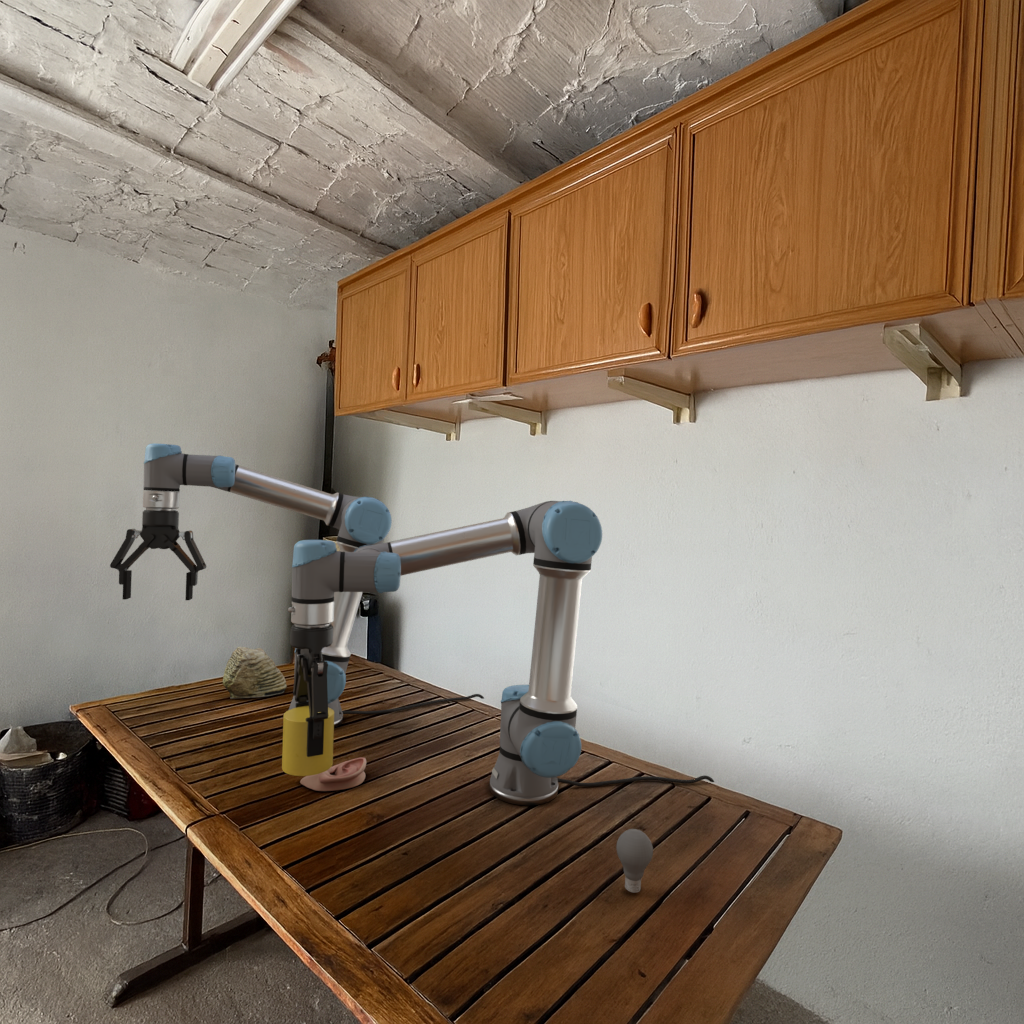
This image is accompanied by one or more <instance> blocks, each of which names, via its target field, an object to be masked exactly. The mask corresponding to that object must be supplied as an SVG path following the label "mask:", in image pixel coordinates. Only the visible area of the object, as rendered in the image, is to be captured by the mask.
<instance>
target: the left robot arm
mask: <svg viewBox="0 0 1024 1024" xmlns="http://www.w3.org/2000/svg"><path fill="white" fill-rule="evenodd" d="M144 453H145V454H144V461H143V490H142V492H143V493H142V494H143V495H142V496H143V497H142V507H143V508H145V509H144V510H143V511H142V517H141V518H142V520H141V530H140V529H136V528H129V529H127V530H126V532H125V538H124V540H123V542H122V544H121V545H120V547H119V548H118V551H117V553H116V554H115V556H114V557H113V559H112V561H111V563H110V564H109V567H110V568H111V569H115V570H117V571H118V584H119V585H120V586H122V600H129V599H131V598H132V573H133V571H132V569H129V568H131V566H132V565H133V564H135V562H136V561H137V560H138V559H140V557H141V556H142V555H143V554H145V552H146V551H147V550H148V549H151V550H156V549H159V550H168V549H169V550H170V551H171V552H173V554H175V555H176V557H177V558H178V559H179V560H180V561H181V563H182V564H183V565H184V566H185V567H186V568H187V570H188V571H187V572H186V575H185V601H190V600H193V596H194V595H193V594H194V593H193V592H194V587H196V586H197V584H198V577H199V576H198V575H199V572H200V571H203V570H205V569H206V568H207V564H206V562H205V560H204V558H203V556H202V553H201V552H200V550H199V548H198V545H197V544H196V542H195V540H194V532H193V530H186V531H180V529H179V525H180V512H179V511H178V510H177V509H179V508H180V491H181V489H180V488H181V486H192V487H193V486H194V487H210V488H214V489H216V490H217V489H218V490H221V491H224V492H226V493H227V492H228V493H230V494H231V493H232V494H235V495H238V496H241V497H244V498H248V499H251V500H254V501H258V502H260V503H264V504H268V505H271V506H275V507H278V508H281V509H285V510H288V511H290V512H294V513H298V514H301V515H303V516H304V515H305V516H308V517H311V518H314V519H318V520H321V521H323V522H324V523H325V525H326V526H328V527H332V528H334V529H337V530H339V531H338V534H337V538H336V541H335V543H336V545H337V546H338V548H339V551H341V552H354V551H355V550H356V549H358V548H359V547H361V546H364V545H377V544H381V543H384V541H385V538H387V536H388V534H389V533H390V531H391V528H392V524H393V523H392V521H393V520H392V514H391V512H390V509H389V508H388V506H387V505H386V504H385V503H384V502H383V501H381V500H380V499H378V498H376V497H371V496H354V495H349V494H344V493H341V492H335V493H329V492H326V491H323V490H319V489H317V488H313V487H310V486H306V485H303V484H301V483H297V482H294V481H290V480H287V479H285V478H281V477H278V476H274V475H271V474H269V473H265V472H262V471H259V470H255V469H252V468H249V467H246V466H243V465H239V464H236V460H235V459H234V457H232V456H224V455H210V454H208V455H207V454H188V453H183V451H182V447H181V446H180V445H177V444H170V443H169V444H168V443H149V444H147V445H146V447H145V451H144ZM139 537H140V538H141V539H142V540H143V541H142V542H141V543H140V544H139V545H138V547H137V548H136V549H135V550H134V551H133V552H132V553H131V554H130V555H129V556H128V557H127V558H126V556H127V554H128V552H129V551H130V549H131V547H132V546H133V545H134V543H135V540H136V539H138V538H139ZM179 538H181V539H182V541H184V542H185V545H186V546H187V549H188V551H189V553H190V555H191V557H192V559H193V560H192V559H191V558H190V556H189V555H188V554H187V553H186V551H184V550H183V549H182V547H181V544H179V543H178V540H179ZM125 558H126V559H125ZM124 559H125V560H124ZM363 593H364V592H335V593H334V621H333V622H332V623H330V624H332V626H333V643H332V644H331V645H330V646H328V647H324V648H323V649H322V656H324V659H325V662H326V661H327V663H328V669H327V691H328V707H329V708H331V709H333V710H334V729H335V728H337V727H339V726H340V725H342V723H343V722H344V715H377V714H387V713H394V712H401V711H405V710H409V709H413V708H418V707H423V706H427V705H433V704H439V703H446V702H454V701H465V700H470V699H473V698H480V699H482V700H484V699H485V697H484V696H483V695H482V694H481V693H473V694H471V695H468V696H460V697H450V698H449V697H448V698H442V699H433V700H430V701H424V702H420V703H414V704H411V705H406V706H402V707H396V708H388V709H381V710H380V709H379V710H343V709H342V706H341V702H340V699H339V698H340V696H341V695H342V694H343V692H344V690H345V687H346V684H347V676H346V672H347V669H348V667H349V666H348V665H349V662H350V658H351V655H352V654H351V651H350V649H349V647H348V645H349V642H350V641H349V640H350V639H351V638H350V637H351V634H352V631H353V627H354V623H355V620H356V617H357V613H358V609H359V607H360V602H361V599H362V595H363ZM294 649H295V650H294V666H295V665H296V648H294ZM293 673H294V674H293V675H294V676H293V678H294V677H295V671H294V672H293ZM292 696H293V697H292V699H291V702H290V704H289V708H288V710H291V709H293V708H296V703H298V702H296V701H295V696H294V695H292ZM307 702H309V701H308V700H307Z"/></svg>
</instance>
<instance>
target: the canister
mask: <svg viewBox="0 0 1024 1024" xmlns="http://www.w3.org/2000/svg"><path fill="white" fill-rule="evenodd" d="M318 713H321V712H318ZM282 717H283V720H282V721H283V722H282V723H283V725H282V749H281V750H282V751H281V753H282V754H281V770H282V771H283V772H284V773H285V774H287V775H290V776H295V777H305V776H310V775H316V774H319V773H322V772H325V771H327V770H328V769H330V768H331V767H332V766H334V765H333V764H334V738H335V734H334V733H335V728H334V710H333V709H331V708H329V707H328V719H324V742H323V755H317V756H311V757H307V729H308V722H306V718H308V717H310V714H309V706H302V707H297V708H293V709H291V710H289V709H288V710H286V711H285V712H284V713H283V716H282Z"/></svg>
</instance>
